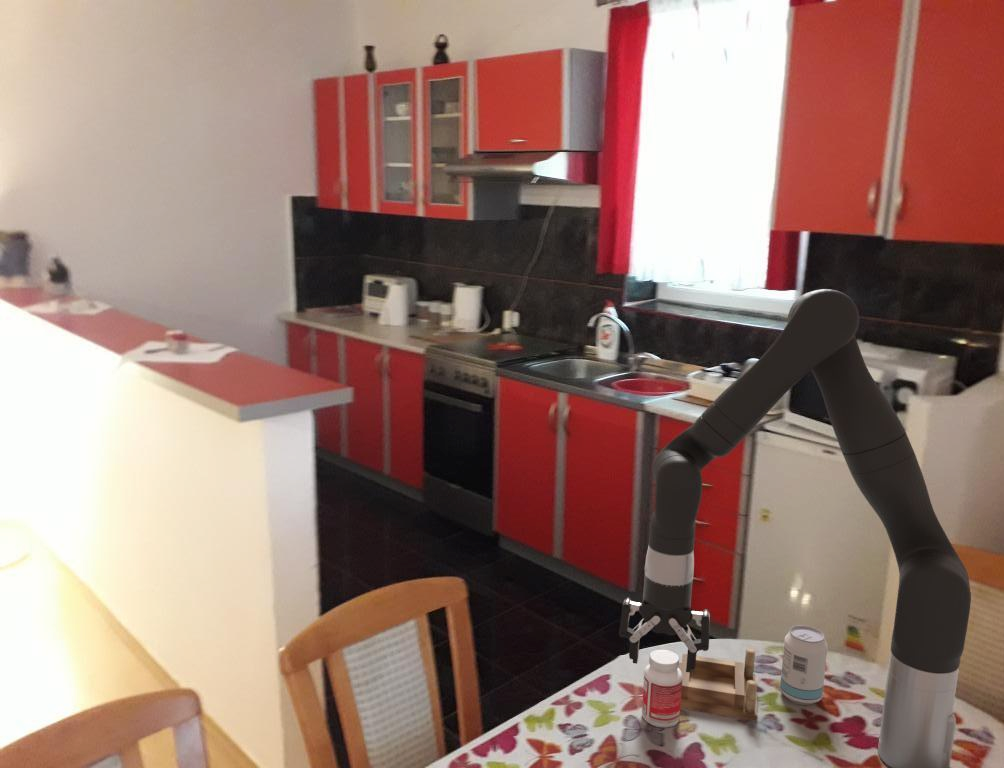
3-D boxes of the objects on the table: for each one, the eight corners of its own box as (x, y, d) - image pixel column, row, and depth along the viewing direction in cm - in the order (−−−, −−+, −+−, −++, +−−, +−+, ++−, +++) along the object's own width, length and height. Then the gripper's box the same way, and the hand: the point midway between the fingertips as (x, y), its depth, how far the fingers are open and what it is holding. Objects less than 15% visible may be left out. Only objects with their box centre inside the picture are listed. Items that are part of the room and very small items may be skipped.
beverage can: (830, 702, 141) (837, 638, 139) (801, 712, 138) (808, 647, 136) (799, 682, 147) (806, 620, 145) (770, 691, 144) (776, 628, 142)
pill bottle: (687, 721, 135) (692, 659, 133) (660, 733, 132) (664, 670, 130) (660, 702, 140) (664, 643, 138) (633, 714, 137) (637, 653, 135)
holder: (754, 679, 148) (757, 648, 147) (756, 721, 136) (759, 687, 134) (669, 666, 152) (671, 636, 151) (664, 705, 139) (666, 673, 138)
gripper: (715, 570, 133) (707, 661, 137) (627, 557, 137) (620, 646, 140) (714, 590, 126) (705, 685, 129) (621, 576, 130) (614, 669, 133)
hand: (661, 665), depth 135 cm, fingers open, 8 cm apart
